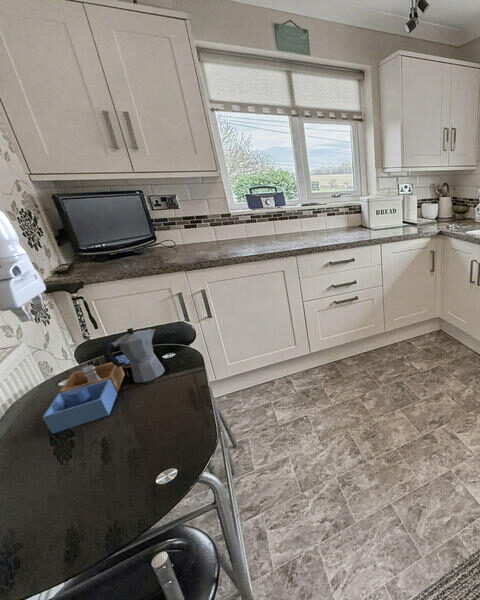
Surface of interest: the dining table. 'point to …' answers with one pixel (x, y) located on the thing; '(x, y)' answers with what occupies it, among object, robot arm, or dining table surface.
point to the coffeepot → (137, 355)
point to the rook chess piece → (90, 373)
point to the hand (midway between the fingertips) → (34, 315)
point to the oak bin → (103, 372)
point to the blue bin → (80, 407)
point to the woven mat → (123, 359)
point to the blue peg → (79, 396)
